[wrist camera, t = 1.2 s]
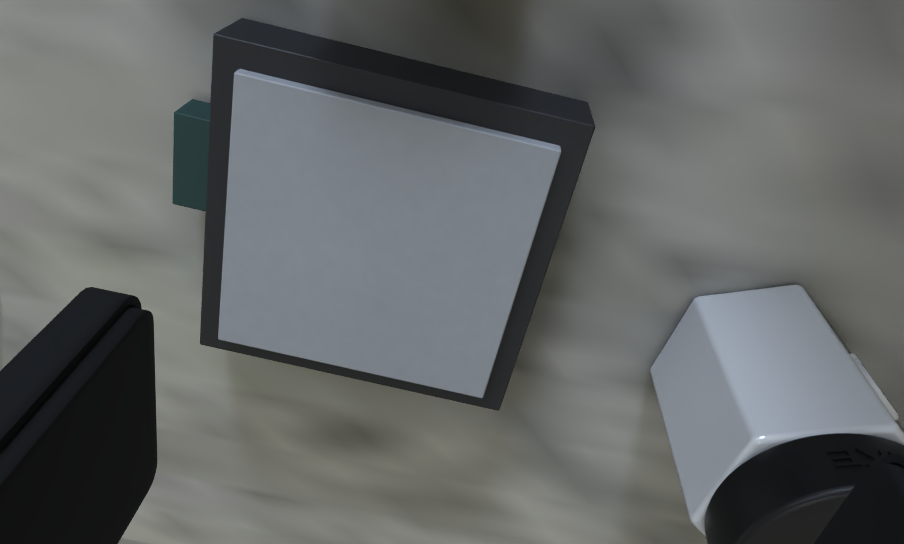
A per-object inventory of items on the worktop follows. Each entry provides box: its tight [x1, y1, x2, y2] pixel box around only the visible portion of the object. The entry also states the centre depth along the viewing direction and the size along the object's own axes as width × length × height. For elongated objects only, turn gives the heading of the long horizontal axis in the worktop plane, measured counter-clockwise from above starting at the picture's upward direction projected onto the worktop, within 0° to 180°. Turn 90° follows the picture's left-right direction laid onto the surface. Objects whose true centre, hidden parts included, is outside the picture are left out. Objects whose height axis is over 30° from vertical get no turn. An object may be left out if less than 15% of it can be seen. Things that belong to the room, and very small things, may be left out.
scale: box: [173, 18, 595, 410], centre depth 30 cm, size 14×16×4 cm
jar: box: [650, 285, 904, 544], centre depth 28 cm, size 9×8×12 cm
